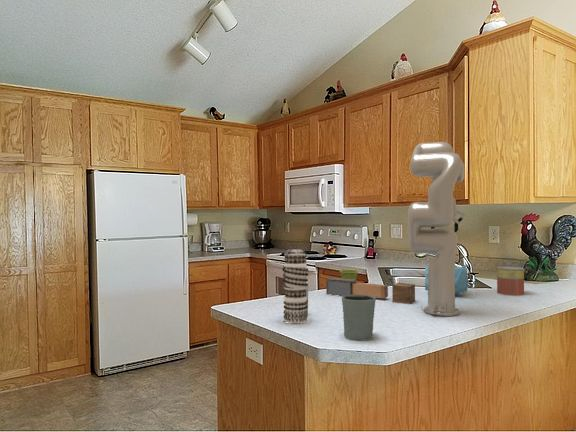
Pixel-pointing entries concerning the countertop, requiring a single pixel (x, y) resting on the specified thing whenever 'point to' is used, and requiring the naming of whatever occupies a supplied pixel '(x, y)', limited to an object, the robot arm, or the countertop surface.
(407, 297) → the walnut socket
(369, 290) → the light brown wooden bar
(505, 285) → the canned food
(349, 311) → the grey green cup
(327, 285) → the grey rectangular block
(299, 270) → the decorative candle
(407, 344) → the countertop surface
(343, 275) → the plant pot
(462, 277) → the teakettle
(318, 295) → the countertop surface
